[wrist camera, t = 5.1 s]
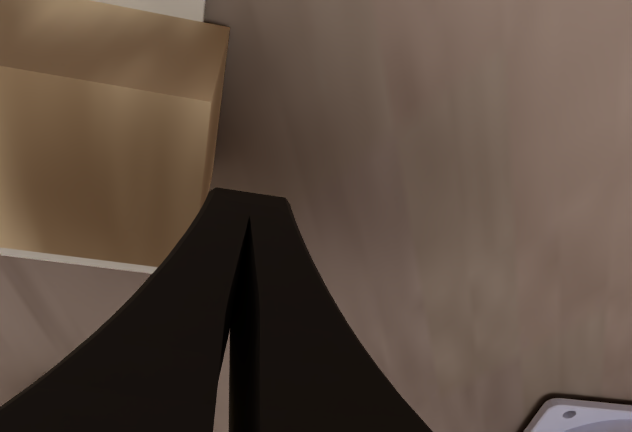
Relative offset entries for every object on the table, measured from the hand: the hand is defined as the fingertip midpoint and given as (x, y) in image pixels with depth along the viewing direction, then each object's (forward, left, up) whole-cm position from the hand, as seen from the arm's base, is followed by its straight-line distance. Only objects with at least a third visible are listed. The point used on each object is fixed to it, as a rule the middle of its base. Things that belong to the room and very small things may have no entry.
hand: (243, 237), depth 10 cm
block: (+1, 0, -3) cm, 3 cm away
